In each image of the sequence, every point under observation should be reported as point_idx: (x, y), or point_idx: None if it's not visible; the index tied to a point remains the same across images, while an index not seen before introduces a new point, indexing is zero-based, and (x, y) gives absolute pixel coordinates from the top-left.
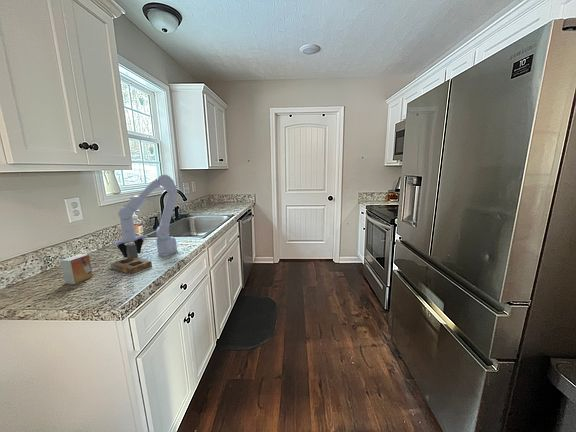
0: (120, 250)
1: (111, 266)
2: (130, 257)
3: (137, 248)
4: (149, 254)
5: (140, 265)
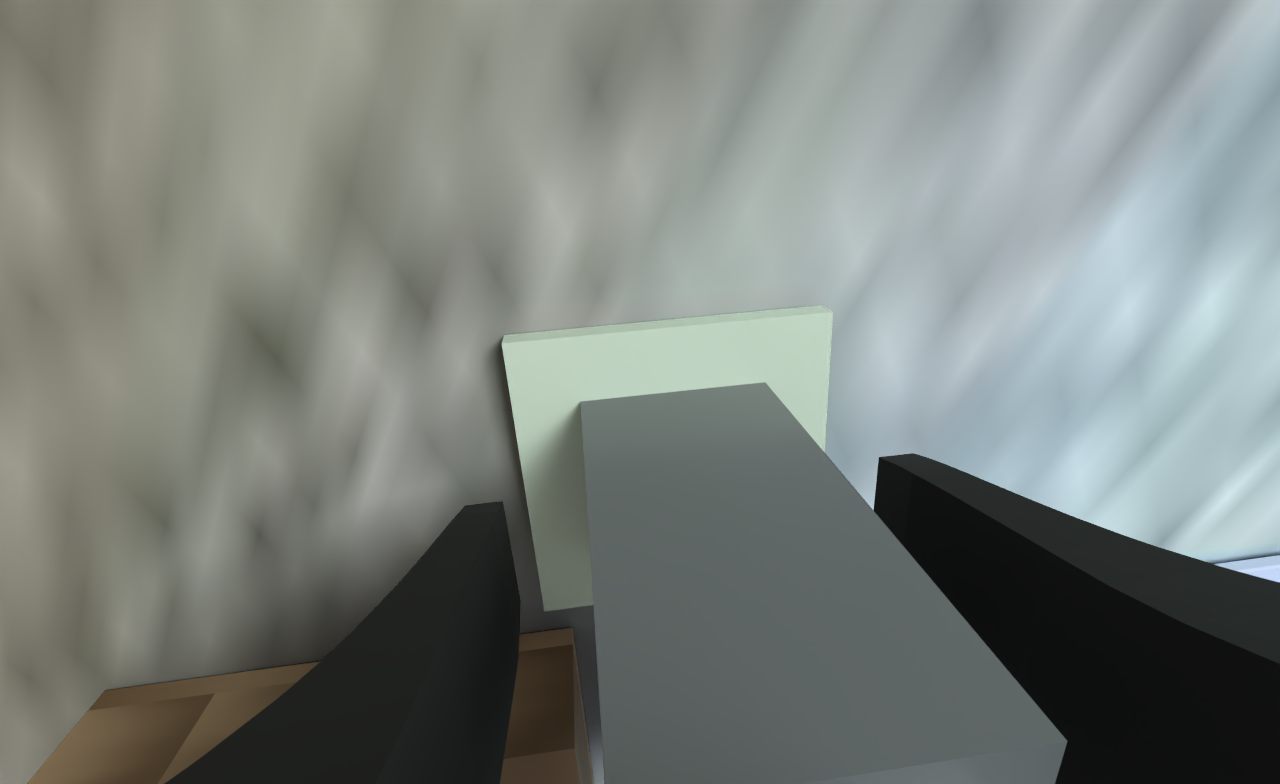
0: (301, 700)
1: (60, 774)
2: (524, 776)
3: (982, 599)
4: (1064, 436)
5: None
